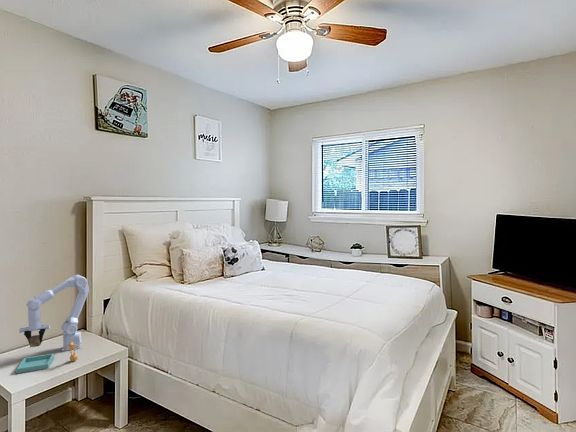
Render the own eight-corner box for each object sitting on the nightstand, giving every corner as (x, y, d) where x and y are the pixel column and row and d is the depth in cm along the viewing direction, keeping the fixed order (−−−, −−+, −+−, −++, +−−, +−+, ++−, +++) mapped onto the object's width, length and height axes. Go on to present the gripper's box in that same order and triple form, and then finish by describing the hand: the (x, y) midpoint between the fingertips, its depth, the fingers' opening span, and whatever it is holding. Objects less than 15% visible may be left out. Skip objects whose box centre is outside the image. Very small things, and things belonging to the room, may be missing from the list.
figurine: (83, 358, 203) (82, 338, 202) (79, 363, 197) (78, 342, 196) (67, 359, 201) (66, 339, 200) (62, 364, 195) (61, 343, 195)
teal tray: (54, 357, 204) (54, 353, 204) (48, 368, 191) (48, 364, 191) (25, 362, 199) (24, 357, 199) (16, 373, 186) (16, 369, 186)
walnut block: (41, 343, 208) (41, 334, 207) (39, 346, 204) (38, 337, 203) (32, 344, 206) (31, 335, 206) (29, 347, 202) (29, 338, 202)
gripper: (51, 315, 210) (52, 338, 211) (21, 319, 205) (22, 342, 206) (48, 319, 204) (49, 342, 205) (17, 323, 198) (18, 346, 199)
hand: (35, 342), depth 205 cm, fingers closed on walnut block, 4 cm apart
